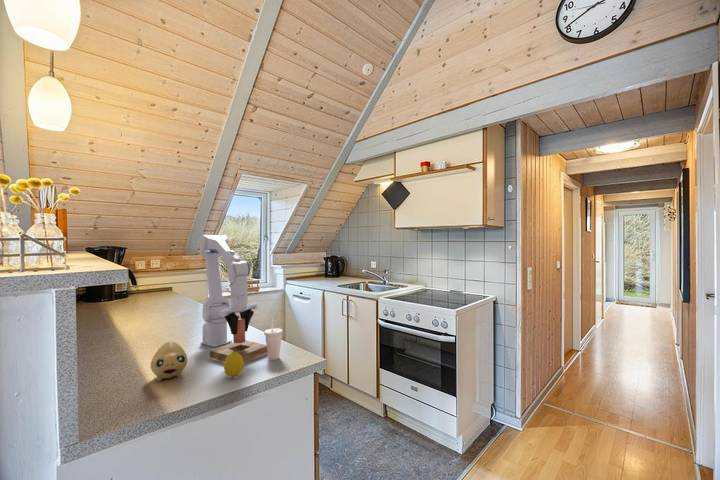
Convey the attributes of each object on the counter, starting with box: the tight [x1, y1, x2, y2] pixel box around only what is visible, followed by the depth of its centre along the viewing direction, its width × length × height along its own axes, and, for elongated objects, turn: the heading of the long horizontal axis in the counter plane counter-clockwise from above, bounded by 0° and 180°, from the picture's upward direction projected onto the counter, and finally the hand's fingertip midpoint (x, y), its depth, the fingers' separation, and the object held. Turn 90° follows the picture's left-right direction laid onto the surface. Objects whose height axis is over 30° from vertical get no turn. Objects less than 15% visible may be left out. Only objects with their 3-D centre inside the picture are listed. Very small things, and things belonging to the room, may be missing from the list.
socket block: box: [209, 339, 268, 364], centre depth 117 cm, size 14×14×3 cm
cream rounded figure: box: [149, 341, 189, 381], centre depth 99 cm, size 10×12×11 cm
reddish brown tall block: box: [232, 317, 246, 343], centre depth 117 cm, size 4×4×8 cm
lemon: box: [223, 352, 245, 379], centre depth 98 cm, size 6×6×8 cm
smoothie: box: [263, 318, 284, 361], centre depth 115 cm, size 6×6×14 cm
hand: (239, 332), depth 117 cm, fingers closed on reddish brown tall block, 4 cm apart
